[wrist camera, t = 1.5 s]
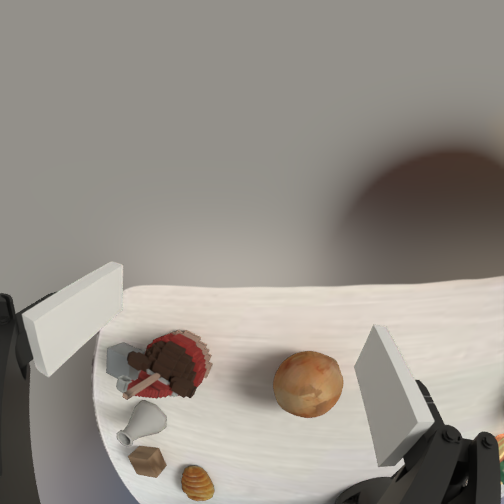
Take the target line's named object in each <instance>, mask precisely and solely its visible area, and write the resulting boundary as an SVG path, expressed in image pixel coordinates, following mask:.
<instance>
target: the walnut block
mask: <svg viewBox="0 0 504 504" xmlns="http://www.w3.org/2000/svg"><path fill="white" fill-rule="evenodd" d="M128 458H129V460H130V462H131V464H132V466H133V468H134V469H135V471H136V473H137V474H139V475H144V476H149V477H155V478H157V477H158V475H159V474H160V473H161V472H162V471H163V469H164V468H165V467H166V466H167V465H166V463H165V461H164V459H163V456H162V454H161V452H160V450H159V448H154V447H145V446H139V447H138V448H137V449H136V450H135V451H133V452H132V453H131V454H130V455H129V456H128Z"/></svg>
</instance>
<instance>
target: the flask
mask: <svg viewBox="0 0 504 504" xmlns="http://www.w3.org/2000/svg"><path fill="white" fill-rule="evenodd" d="M166 421H167V416H166V415H165V414H164V413H163V412H162V411H161V410H160V409H159V407H158V406H157V405H155V404H152V403H150V402H147V401H145V400H143V401H141V402H140V403H139V404H138V405H137V406H136V407H135V409H134V412H133V414H132V417H131V419H130V421H129V423H128V425H127V426H126V428H125V429H124V430H120V431H119V432H118V433H117V439H118V440H119V441H120V443H121V444H123V445H125V446H127V447H129V446H131V445H132V444H133V441H134V440H136V439H138V438H140V437H144V436H148V435H152V434H156V433H159V432H160V431H162V430H163V429H165V428H166Z"/></svg>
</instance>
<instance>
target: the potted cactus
mask: <svg viewBox="0 0 504 504" xmlns="http://www.w3.org/2000/svg"><path fill="white" fill-rule="evenodd" d="M495 438H496V440H497V442H498V447H499V457H500V474H501V484H504V434H500V435H498V436H496V437H495Z"/></svg>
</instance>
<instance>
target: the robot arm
mask: <svg viewBox="0 0 504 504" xmlns="http://www.w3.org/2000/svg"><path fill="white" fill-rule="evenodd" d="M122 289H123V265H122V264H119V263H116V262H112V261H111V262H110V263H108V264H106V265H104V266H102V267H100V268H99V269H97V270H95V271H93V272H91V273H90V274H88V275H86V276H84V277H83V278H81V279H79V280H77V281H76V282H74V283H72V284H70V285H69V286H67V287H65V288H64V289H62V290H60V291H58V292H54V293H51V294H48V295H46V296H45V297H43V298H41V300H38V301H36V302H35V303H33V304H31V305H30V306H28V307H26V308H25V309H23V310H22V311H20V312H18V313H17V314H15V309H14V305H13V299H12V297H11V296H10V295H8V294H3V293H1V294H0V504H40V499H39V495H38V490H37V485H36V480H35V473H34V467H33V459H32V450H31V440H30V421H29V386H30V384H29V383H30V365H29V362H30V361H31V360H33V359H34V362H35V366H36V369H37V370H38V371H40V372H41V373H43V374H44V375H46V376H47V377H50V376H51V375H52V374H53V373H54V372H55V371H56V370H57V369H58V368H59V367H60V366H61V365H62V364H63V363H64V362H65V361H66V360H68V359H69V358H70V357H71V356H72V355H73V354H74V353H75V352H76V351H77V350H78V349H79V348H80V347H82V346H83V345H84V344H85V343H86V342H87V341H88V340H89V339H90V338H92V337H93V336H94V335H95V334H96V333H97V332H98V331H99V330H100V329H102V328H103V327H104V326H105V325H106V324H107V323H108V322H109V321H111V320H112V319H113V318H114V317H115V316H116V315H117V314H119V313H120V312H121V311H122V310H123V290H122ZM354 368H355V372H356V375H357V379H358V383H359V386H360V390H361V394H362V398H363V402H364V406H365V410H366V414H367V418H368V422H369V426H370V431H371V435H372V439H373V444H374V449H375V453H376V458H377V463H378V467H384V466H395V465H396V464H397V463H398V462H399V461H400V460H401V459H402V458H403V459H404V462H405V465H403V466H402V467H401V468H400V469H399V470H398V471H397V472H396V473H395V474H394V475H393V476H392V477H381V478H375V479H370V480H367V481H364V482H361V483H359V484H356V485H354V486H352V487H351V488H349V489H347V490H346V491H345V492H343V493H342V494H341V495H340V496H339V497H338V499H337V500H336V502H335V504H500V503H501V474H500V457H499V447H498V442H497V440H496V438H495V437H494V436H493V435H492V434H491V433H488V432H481V433H479V434H478V435H477V436H476V438H475V439H474V440H470V439H464V438H462V436H461V433H460V432H459V431H458V430H457V429H456V428H454V427H453V426H450V425H445V424H444V422H443V420H442V418H441V416H440V414H439V412H438V410H437V408H436V406H435V404H433V400H432V398H431V397H430V394H429V392H428V390H427V388H426V387H425V386H424V385H423V384H422V383H421V381H420V380H415V379H414V377H413V375H412V373H411V371H410V369H409V367H408V365H407V363H406V362H405V360H404V358H403V356H402V354H401V352H400V350H399V348H398V347H397V345H396V343H395V341H394V339H393V338H392V336H391V334H390V332H389V330H388V329H387V327H385V326H380V325H373V327H372V329H371V332H370V334H369V336H368V338H367V341H366V343H365V345H364V347H363V349H362V352H361V354H360V356H359V358H358V360H357V362H356V364H355V366H354ZM394 477H395V478H394ZM467 479H468V484H467V485H465V483H466V480H467Z"/></svg>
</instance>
